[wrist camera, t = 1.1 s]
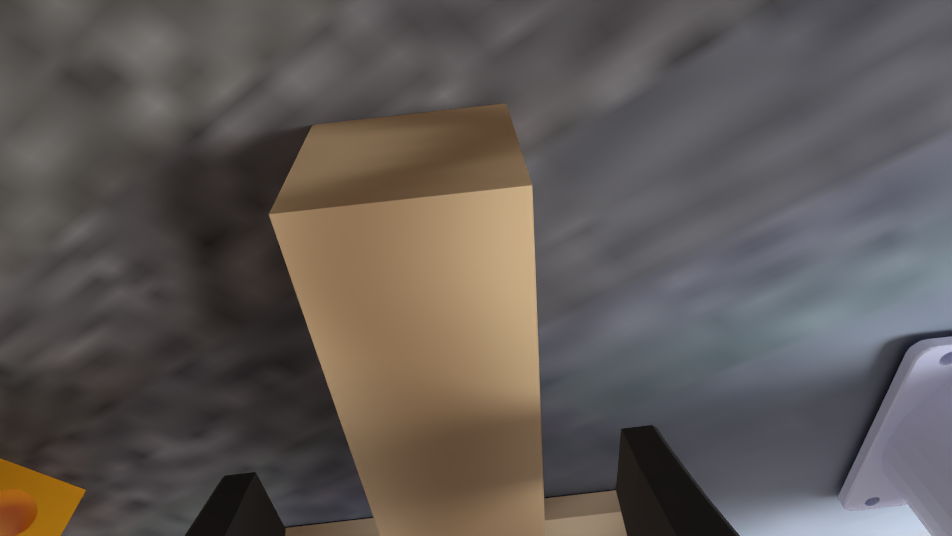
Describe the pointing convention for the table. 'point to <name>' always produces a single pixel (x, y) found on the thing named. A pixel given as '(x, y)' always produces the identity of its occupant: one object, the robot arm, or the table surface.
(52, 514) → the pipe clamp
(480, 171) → the oak beam
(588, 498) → the rail stand
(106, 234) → the table surface
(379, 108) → the table surface
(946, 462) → the robot arm
